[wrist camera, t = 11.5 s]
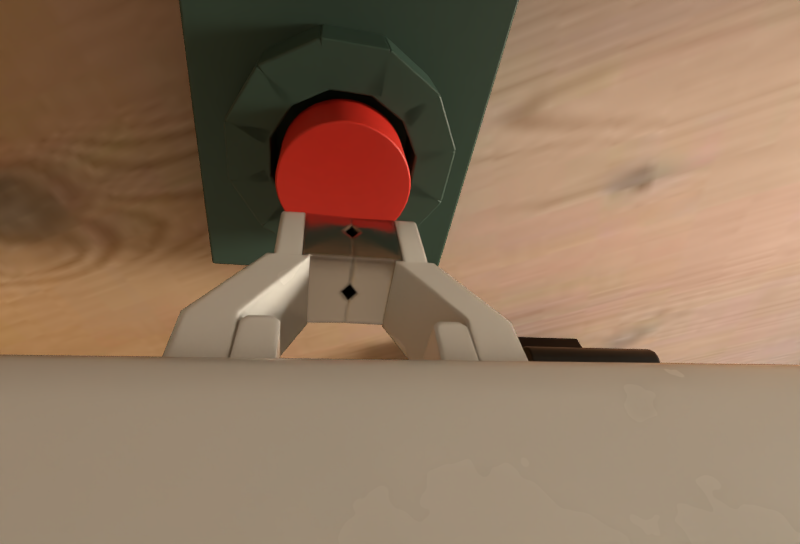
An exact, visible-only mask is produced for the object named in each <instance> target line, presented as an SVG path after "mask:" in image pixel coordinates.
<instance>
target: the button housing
mask: <svg viewBox="0 0 800 544" xmlns="http://www.w3.org/2000/svg"><path fill="white" fill-rule="evenodd" d="M518 2H519V0H179V5H180V13H181V21H182V29H183V36H184V44H185V52H186V60H187V67H188V75H189V83H190V91H191V99H192V106H193V114H194V122H195V130H196V137H197V145H198V153H199V161H200V169H201V176H202V184H203V192H204V200H205V208H206V215H207V223H208V231H209V239H210V246H211V254H212V261H213V263H218V264H234V265H250V264H251V263H252V262H254V261H255V260H257V259H258V258H260V257H261V256H263V255H264V254H266V253H274V249H275V244H276V239H277V233H278V228H279V222H280V217H281V213H282V212H283V211H284V209H283V207H282V205H281V203H280V201H279V198H278V196H277V191H276V185H275V174H276V168H277V163H278V159H279V155H280V151H281V147H282V142H283V138H284V136H285V133H286V131H287V129H288V127H289V125H290V124H291V123H292V121H293V120H294V119H295V118H296V117H297V116H298V115H299V114H300V113H301V112H302V111H304V110H305V109H306V108H308V107H310V106H312V105H314V104H316V103H319V102H322V101H325V100H330V99H350V100H355V101H359V102H362V103H365V104H367V105H369V106H371V107H373V108H375V109H376V110H377V111H379V112H380V113H382V114H383V115H384V116H385V117H386V118H387V119H388V120H389V121H390V123H391V124H392V125H393V127H394V128H395V130H396V132H397V134H398V136H399V138H400V141H401V145H402V148H403V151H404V154H405V157H406V160H407V164H408V167H409V171H410V178H411V187H410V194H409V197H408V201H407V203H406V205H405V207H404V209H403V211H402V212H401V214H400V216H399V217H398V218H397V219H396V220H395V221H414V222H415V223H416V225H417V228H418V231H419V235H420V238H421V242H422V245H423V248H424V252H425V255H426V258H427V262H428V263H434V264H435V265H437V266H438V265H439V262H440V259H441V255H442V252H443V249H444V245H445V242H446V239H447V236H448V232H449V229H450V226H451V222H452V219H453V216H454V212H455V209H456V206H457V203H458V199H459V196H460V193H461V189H462V186H463V183H464V180H465V176H466V173H467V170H468V166H469V163H470V160H471V156H472V153H473V150H474V147H475V143H476V140H477V137H478V133H479V130H480V127H481V124H482V120H483V117H484V114H485V110H486V107H487V104H488V100H489V97H490V94H491V91H492V87H493V84H494V81H495V77H496V74H497V71H498V68H499V64H500V61H501V58H502V54H503V51H504V48H505V44H506V41H507V38H508V35H509V31H510V28H511V25H512V21H513V18H514V15H515V12H516V8H517V5H518Z"/></svg>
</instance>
